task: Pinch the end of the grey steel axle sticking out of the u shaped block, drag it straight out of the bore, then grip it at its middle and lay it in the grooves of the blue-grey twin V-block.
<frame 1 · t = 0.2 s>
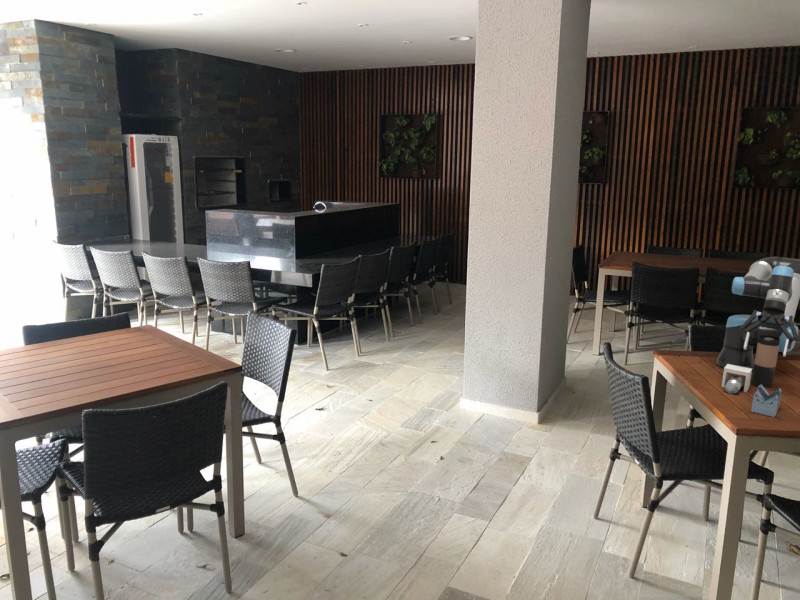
hand: (764, 352, 252), 16 cm above the table, tool tilted 35°, fingers open, 13 cm apart
v block: (765, 409, 235), on the table
travel mug: (761, 385, 262), on the table
u shaped block: (735, 387, 258), on the table
axle: (733, 390, 255), on the table
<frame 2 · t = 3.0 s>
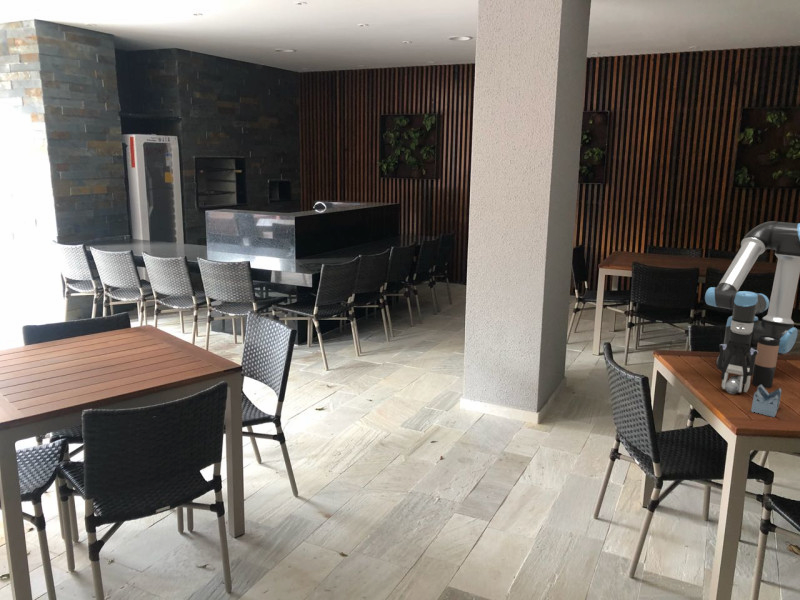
hand: (732, 389, 252), 1 cm above the table, tool pointing down, fingers closed on axle, 5 cm apart
axle: (733, 390, 255), on the table, touching gripper
everything else where it was.
when the fingers open (1 cm above the table, at t = 5.3 s): axle stays where it is, on the table.
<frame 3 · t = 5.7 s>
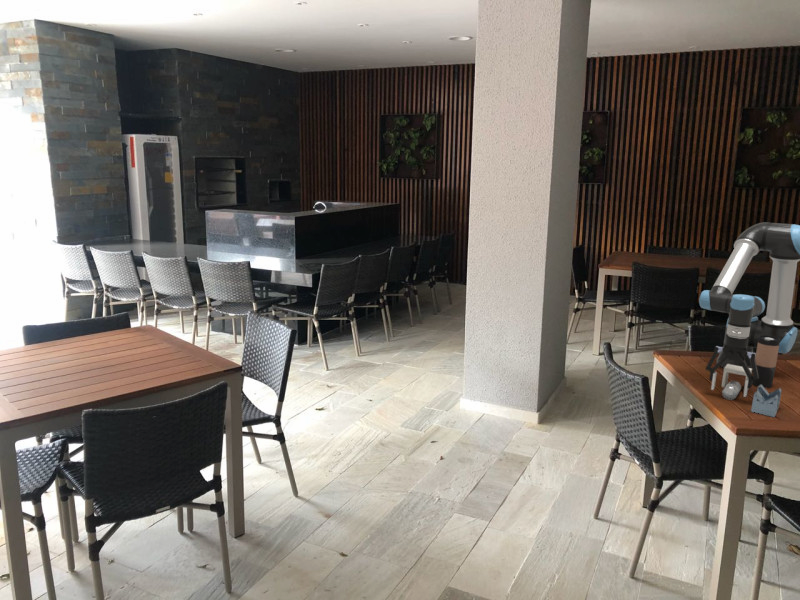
hand: (728, 392, 245), 2 cm above the table, tool pointing down, fingers open, 10 cm apart
axle: (729, 395, 248), on the table, tilted 11°
everything else where it was.
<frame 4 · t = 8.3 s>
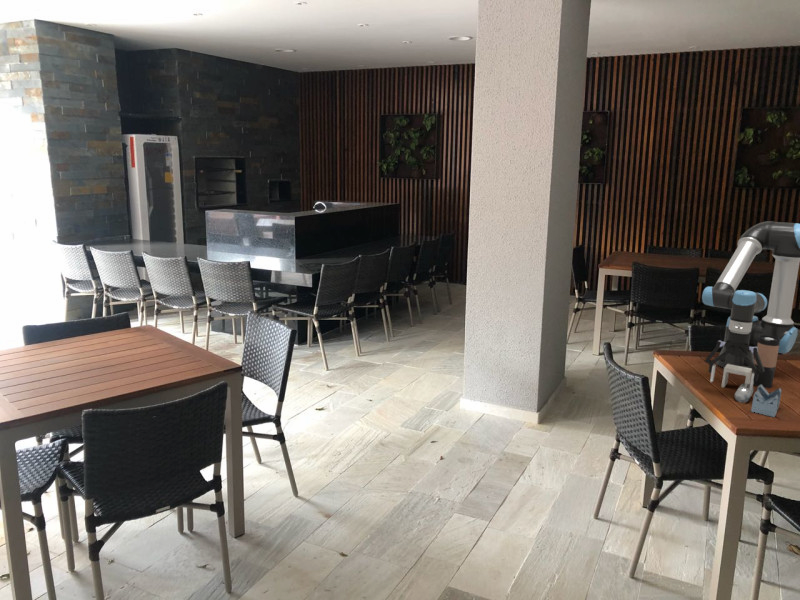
hand: (731, 385, 247), 4 cm above the table, tool pointing down, fingers open, 13 cm apart
axle: (737, 388, 246), point 3 cm above the table, tilted 115°, touching gripper
everything else where it was.
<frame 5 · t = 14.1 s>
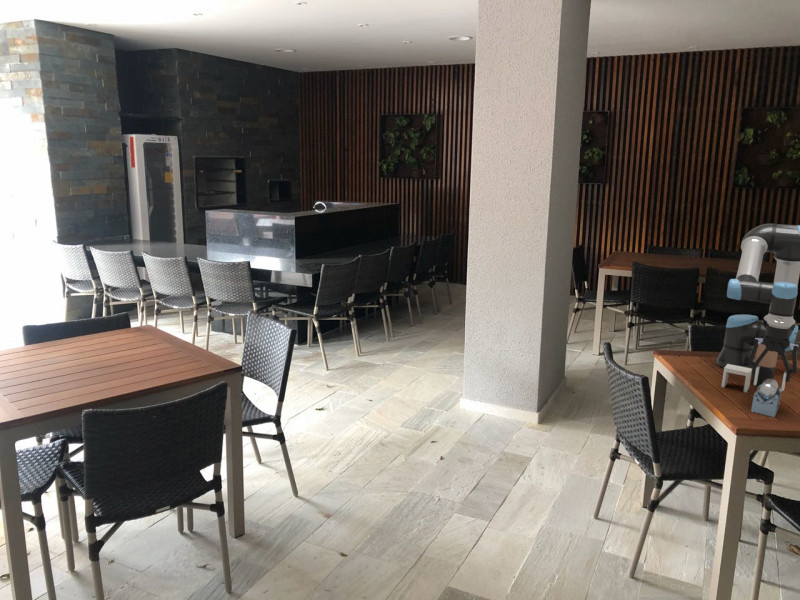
hand: (768, 386, 233), 9 cm above the table, tool pointing down, fingers open, 8 cm apart
axle: (764, 394, 234), point 6 cm above the table, tilted 20°, touching v block
everything else where it was.
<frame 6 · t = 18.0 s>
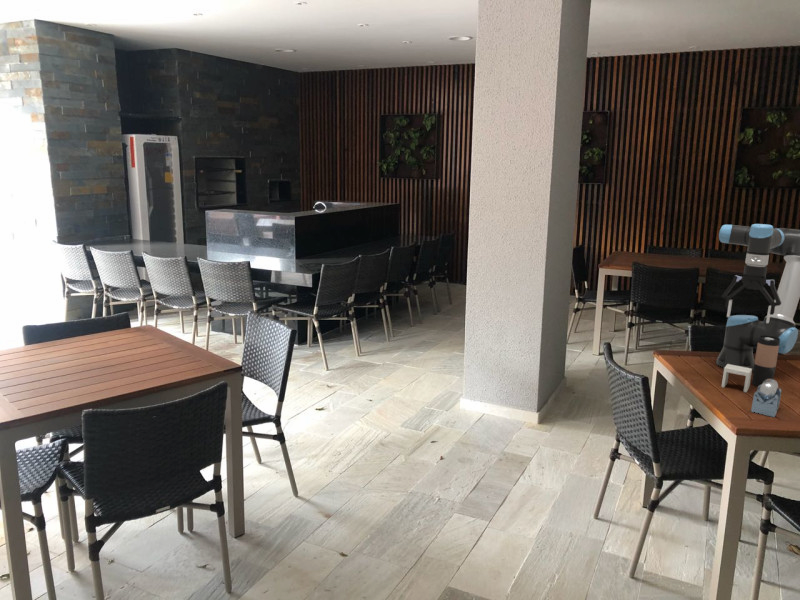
hand: (747, 319, 249), 29 cm above the table, tool pointing down, fingers open, 13 cm apart
nothing on the table moved.
at the end: axle 0.8 cm off-centre on the v block, point 5.7 cm above the v block's base; axle touching v block; the gripper is holding nothing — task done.
